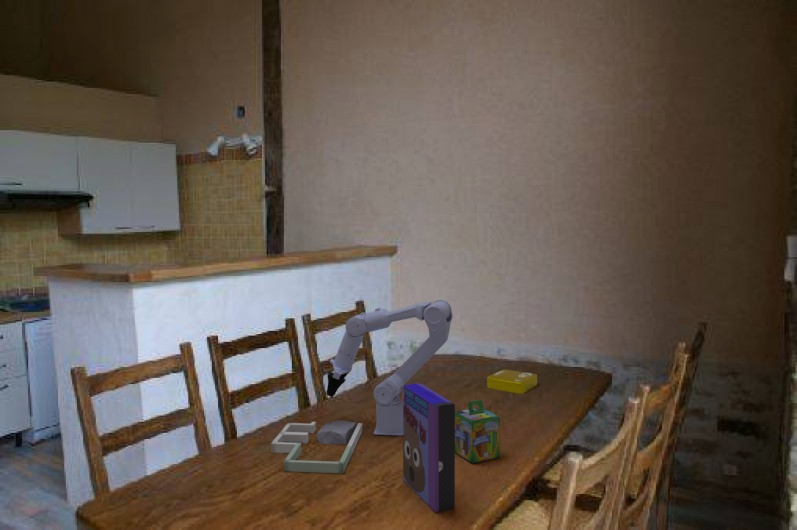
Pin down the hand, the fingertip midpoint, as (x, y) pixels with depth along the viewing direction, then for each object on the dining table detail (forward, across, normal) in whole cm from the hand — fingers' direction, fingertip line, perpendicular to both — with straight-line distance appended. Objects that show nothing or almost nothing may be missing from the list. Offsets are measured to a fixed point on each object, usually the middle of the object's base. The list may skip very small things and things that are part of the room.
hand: (332, 391), depth 186 cm
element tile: (-8, -47, +60) cm, 76 cm away
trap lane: (+9, +20, +3) cm, 22 cm away
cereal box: (-5, +44, +33) cm, 55 cm away
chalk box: (-7, +20, +44) cm, 49 cm away
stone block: (+9, +10, +7) cm, 15 cm away
